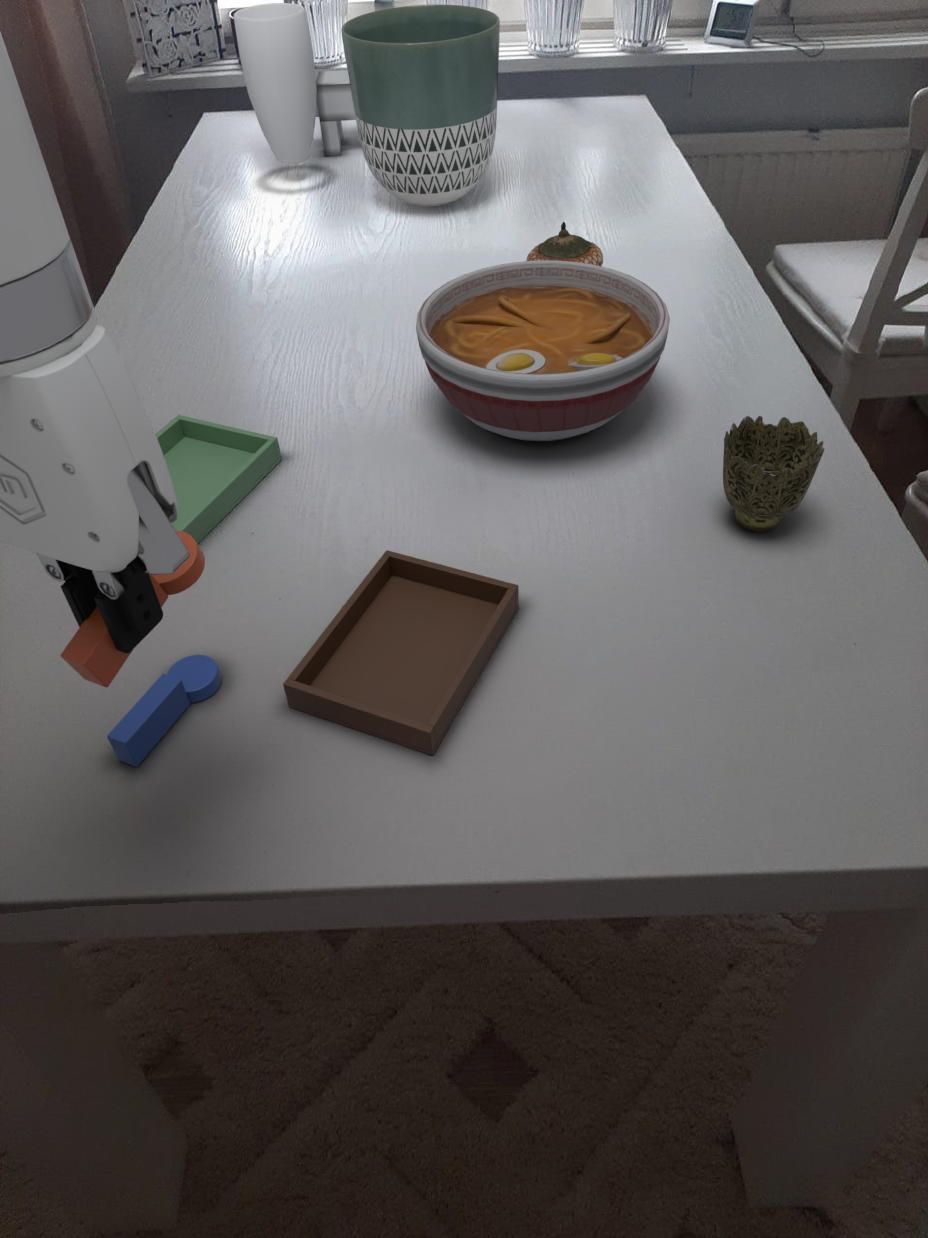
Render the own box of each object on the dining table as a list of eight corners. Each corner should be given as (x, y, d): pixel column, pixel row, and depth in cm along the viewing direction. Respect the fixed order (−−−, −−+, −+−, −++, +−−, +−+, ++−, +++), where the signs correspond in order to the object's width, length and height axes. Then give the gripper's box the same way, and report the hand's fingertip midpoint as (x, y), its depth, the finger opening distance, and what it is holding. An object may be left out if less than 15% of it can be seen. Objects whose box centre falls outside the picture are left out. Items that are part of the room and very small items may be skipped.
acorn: (611, 304, 107) (617, 214, 100) (578, 335, 102) (582, 243, 95) (548, 289, 110) (549, 202, 103) (512, 318, 105) (511, 229, 98)
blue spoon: (149, 772, 62) (137, 748, 60) (106, 755, 63) (93, 731, 61) (231, 673, 68) (223, 649, 66) (190, 660, 69) (181, 635, 67)
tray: (432, 755, 62) (430, 733, 60) (288, 706, 65) (282, 684, 64) (518, 608, 71) (518, 584, 70) (389, 572, 75) (386, 549, 73)
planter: (336, 217, 128) (312, 38, 113) (399, 168, 141) (384, 1, 126) (469, 234, 122) (462, 47, 107) (522, 181, 135) (522, 7, 120)
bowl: (602, 504, 80) (610, 402, 73) (378, 440, 89) (366, 343, 82) (692, 379, 94) (705, 283, 87) (491, 334, 103) (489, 243, 96)
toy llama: (312, 141, 152) (291, -4, 138) (420, 135, 152) (410, -11, 138) (308, 157, 147) (286, 7, 133) (420, 150, 146) (409, 0, 132)
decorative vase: (804, 500, 79) (825, 419, 74) (802, 556, 74) (824, 473, 69) (714, 489, 81) (728, 409, 75) (706, 543, 76) (720, 460, 70)
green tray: (183, 558, 77) (176, 535, 76) (79, 527, 81) (69, 505, 79) (282, 459, 87) (277, 437, 86) (184, 435, 91) (178, 414, 89)
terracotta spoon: (123, 694, 48) (98, 670, 46) (69, 674, 50) (43, 649, 47) (217, 551, 52) (199, 523, 50) (166, 536, 54) (146, 507, 51)
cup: (332, 164, 144) (310, -1, 129) (330, 189, 136) (306, 17, 121) (265, 169, 144) (234, 4, 128) (258, 194, 136) (225, 22, 121)
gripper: (-225, 311, 37) (-34, 635, 50) (73, 383, 32) (201, 724, 45) (-76, 238, 42) (64, 551, 55) (204, 291, 37) (286, 623, 50)
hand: (125, 627), depth 50 cm, fingers closed on terracotta spoon, 1 cm apart
